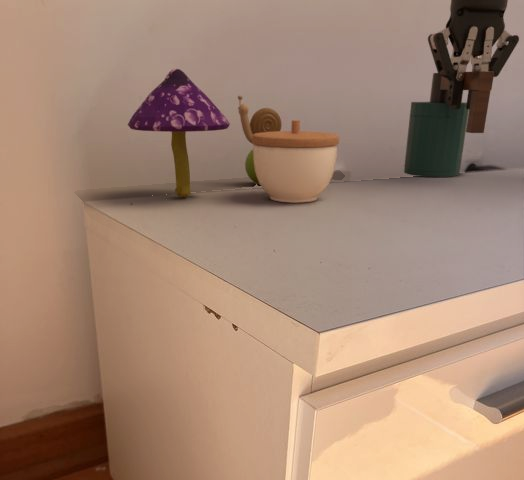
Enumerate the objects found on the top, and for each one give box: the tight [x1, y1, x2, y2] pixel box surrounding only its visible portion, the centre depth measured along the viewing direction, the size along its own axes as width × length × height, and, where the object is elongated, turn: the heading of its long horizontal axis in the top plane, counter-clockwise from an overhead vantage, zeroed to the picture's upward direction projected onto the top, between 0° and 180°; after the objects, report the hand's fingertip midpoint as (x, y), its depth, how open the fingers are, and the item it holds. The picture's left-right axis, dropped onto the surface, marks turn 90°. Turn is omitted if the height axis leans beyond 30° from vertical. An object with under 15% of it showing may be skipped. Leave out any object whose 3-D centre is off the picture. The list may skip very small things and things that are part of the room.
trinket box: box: [251, 119, 340, 204], centre depth 72 cm, size 11×11×9 cm
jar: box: [403, 101, 469, 178], centre depth 94 cm, size 9×9×11 cm
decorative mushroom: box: [127, 68, 231, 199], centre depth 70 cm, size 12×12×15 cm
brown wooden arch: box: [429, 71, 495, 134], centre depth 87 cm, size 14×3×8 cm, turn 12°
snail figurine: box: [237, 94, 283, 185], centre depth 81 cm, size 5×6×12 cm
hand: (463, 108), depth 85 cm, fingers closed on brown wooden arch, 2 cm apart
